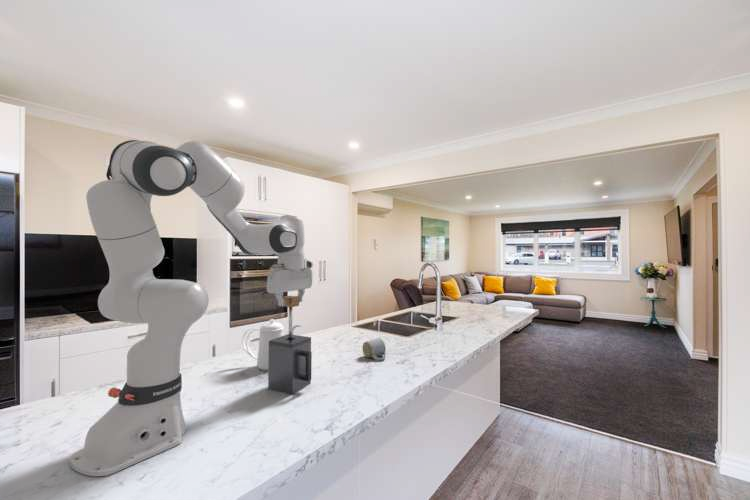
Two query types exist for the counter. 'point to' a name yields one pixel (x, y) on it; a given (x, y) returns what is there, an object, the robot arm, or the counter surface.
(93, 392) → the counter surface
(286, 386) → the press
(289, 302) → the plunger
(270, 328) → the coffeepot
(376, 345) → the ceramic mug
